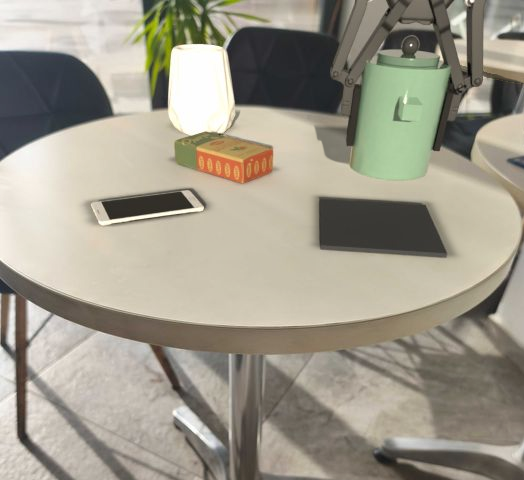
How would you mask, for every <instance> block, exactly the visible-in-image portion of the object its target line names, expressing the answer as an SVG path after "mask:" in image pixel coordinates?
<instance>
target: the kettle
mask: <svg viewBox="0 0 524 480" xmlns="http://www.w3.org/2000/svg"><path fill="white" fill-rule="evenodd" d="M420 45H421V43H420V40H419V38H418V36H416V35H414V34H413V35H411V34H409V35H408V36H406V37H404V39H403V40H402V42H401V45H400V49H382V50H379V51H377V53H376V54H377V55H374V56H373V58H372V59H371V61H370V62H366V64H365V70H364V71H363V73H362V74H361V76H360V83H359V85H360V88H361V92H360V99H359V106H358V113H357V120H356V127H355V135H354V142H353V146H350V147H351V148H350V154H349V155H350V156H349V162H348V163H349V164H348V165H349V167H350V169H351V170H353V171H354V172H355V173H357V174H359V175H362V176H365V177H369V178H371V179H377V180H384V181H392V182H393V181H396V182H397V181H398V182H401V181H413V180H417V179H421V178H424V177H425V176H426V175H427V173H428V171H429V167H430V162H431V157H432V153H433V145H434V141H435V137H436V132H437V128H438V124H439V120H440V115H441V111H442V107H443V103H444V98H445V94H446V90H447V89H448V85H449V83H450V82H449V77H450V73H451V69H452V66H448V65H447V64H446V63H444V61H443V60H440V59H441V56H440V55H439V54H436V53H434V52H429V51H422V50H419V48H420Z"/></svg>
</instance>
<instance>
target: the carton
mask: <svg viewBox="0 0 524 480" xmlns="http://www.w3.org/2000/svg"><path fill="white" fill-rule="evenodd" d="M173 149H174V158H175V163H176V164H177V165H181V166H183V167H186V168H187V167H188V168H191V169H194V170H196V171H200V172H204V173H207V174H210V175H212V176H217V177H220V178H223V179H226V180H229V181H232V182H237V183H238V184H239V183H240V184H245V183H247V182H250V181H253V180H255V179H258V178H261V177H263V176H266V175H269V174H270V173H272V172H273V170H274V169H273V168H274V148H272V147H269V146H265V145H262V144H257V143H253V142H249V141H245V140H241V139H237V138H233V137H230V136H226V135H222V134H218V135H217V134H213V133H210V132H207V131H204V132H201V133H198V134H195V135H187V136H185V137H182V138H179V139H176V140H174V142H173Z"/></svg>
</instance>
